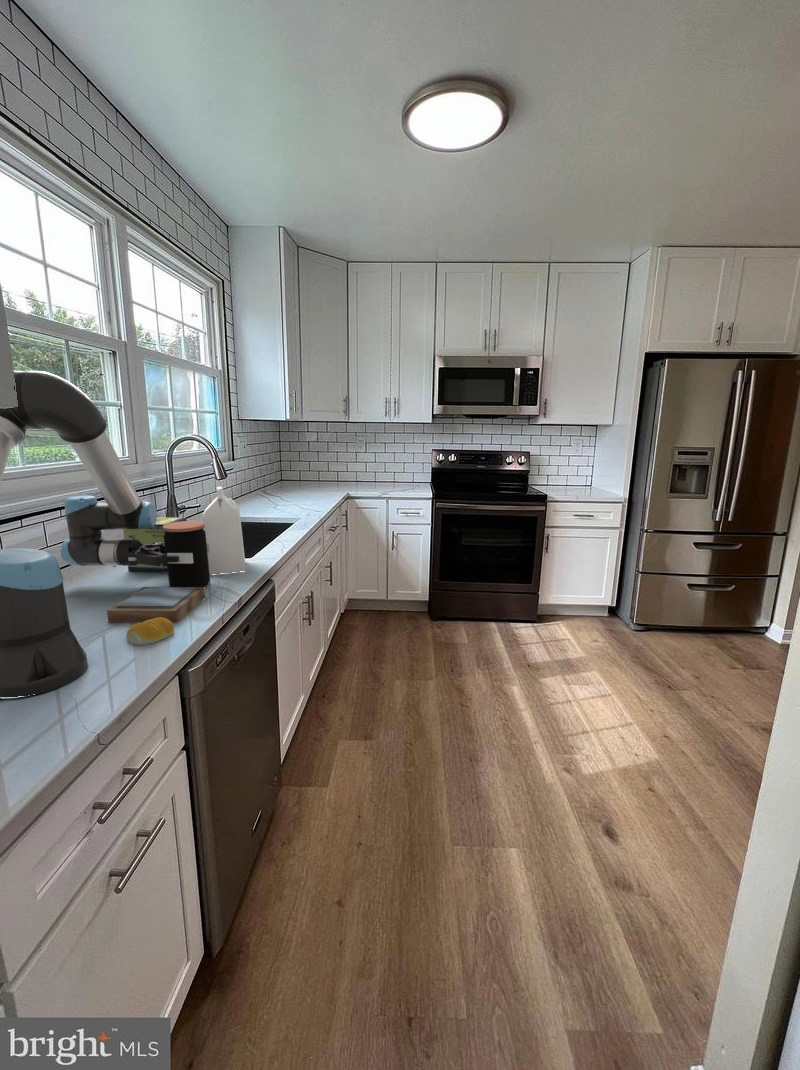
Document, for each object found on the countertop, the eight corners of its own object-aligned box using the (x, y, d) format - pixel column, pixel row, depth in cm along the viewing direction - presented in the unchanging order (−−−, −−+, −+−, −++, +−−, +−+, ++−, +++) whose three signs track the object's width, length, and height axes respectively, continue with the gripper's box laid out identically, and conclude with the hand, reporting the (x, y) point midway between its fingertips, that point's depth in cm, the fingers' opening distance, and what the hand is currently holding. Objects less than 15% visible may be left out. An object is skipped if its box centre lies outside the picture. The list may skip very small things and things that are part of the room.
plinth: (177, 622, 108) (175, 608, 107) (108, 622, 108) (106, 608, 107) (205, 597, 124) (204, 585, 123) (145, 597, 124) (143, 585, 123)
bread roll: (182, 632, 103) (180, 616, 103) (144, 649, 96) (141, 631, 95) (158, 625, 107) (156, 609, 106) (119, 640, 99) (117, 623, 99)
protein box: (175, 572, 145) (169, 523, 141) (127, 571, 146) (120, 523, 142) (192, 563, 155) (187, 517, 151) (147, 562, 156) (141, 516, 153)
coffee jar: (217, 581, 137) (211, 521, 133) (198, 593, 127) (191, 529, 123) (182, 579, 138) (176, 520, 134) (161, 592, 128) (153, 528, 124)
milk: (208, 565, 153) (200, 486, 147) (245, 562, 156) (239, 484, 150) (205, 576, 142) (197, 491, 136) (245, 572, 145) (238, 489, 139)
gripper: (146, 554, 142) (218, 554, 142) (98, 578, 120) (183, 578, 120) (143, 530, 141) (216, 530, 141) (94, 550, 118) (180, 550, 118)
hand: (201, 552), depth 130 cm, fingers open, 11 cm apart
